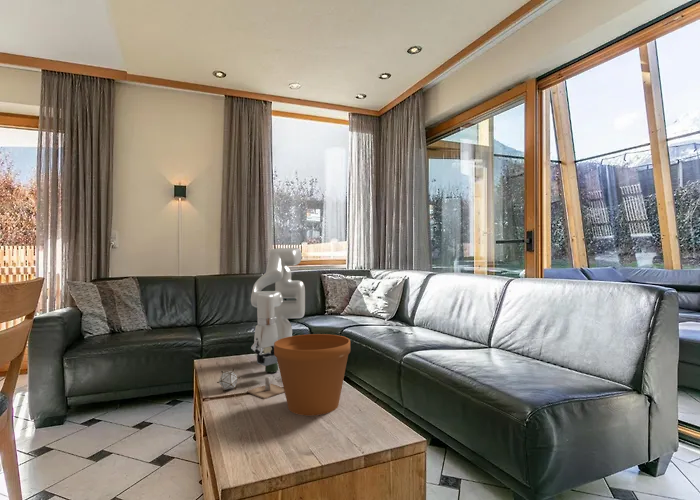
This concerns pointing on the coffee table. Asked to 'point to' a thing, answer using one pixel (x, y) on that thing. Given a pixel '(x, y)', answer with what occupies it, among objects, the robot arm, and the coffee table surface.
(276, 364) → the character mug
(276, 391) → the tan piece
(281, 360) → the flowerpot
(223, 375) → the game die
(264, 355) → the link
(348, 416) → the coffee table surface
